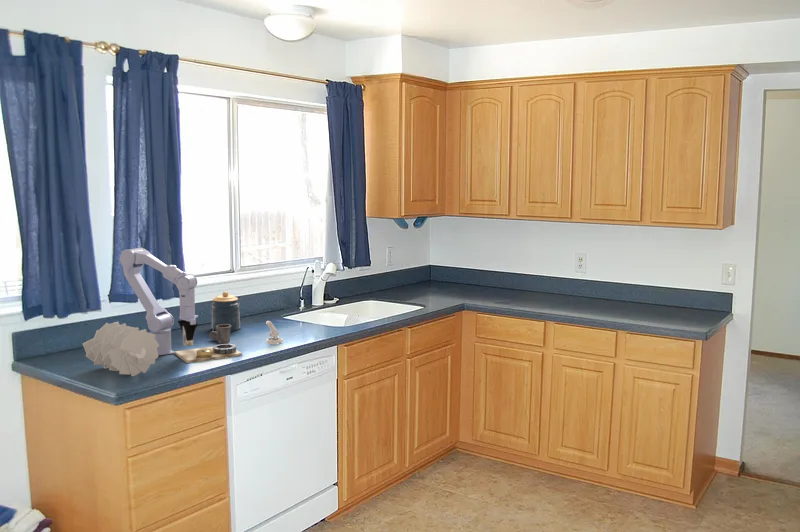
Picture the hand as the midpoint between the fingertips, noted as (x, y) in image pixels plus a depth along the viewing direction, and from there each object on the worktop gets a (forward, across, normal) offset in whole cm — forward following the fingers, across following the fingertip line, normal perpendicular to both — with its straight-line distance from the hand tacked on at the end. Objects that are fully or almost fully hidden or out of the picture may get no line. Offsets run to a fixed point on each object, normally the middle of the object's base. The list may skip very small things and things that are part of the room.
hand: (188, 339), depth 275 cm
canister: (+7, +38, -29) cm, 48 cm away
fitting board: (+6, -3, -7) cm, 10 cm away
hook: (+7, +3, -38) cm, 39 cm away
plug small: (+6, -8, -4) cm, 11 cm away
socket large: (+6, -5, -13) cm, 15 cm away
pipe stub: (+2, 0, 0) cm, 2 cm away
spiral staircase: (+7, -10, +27) cm, 30 cm away
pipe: (+7, +14, -18) cm, 23 cm away
